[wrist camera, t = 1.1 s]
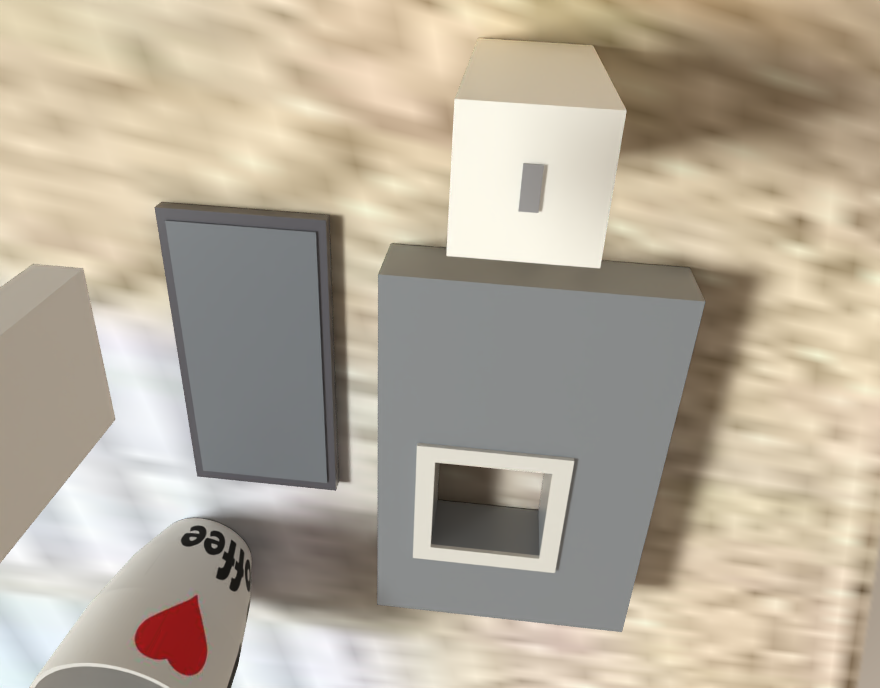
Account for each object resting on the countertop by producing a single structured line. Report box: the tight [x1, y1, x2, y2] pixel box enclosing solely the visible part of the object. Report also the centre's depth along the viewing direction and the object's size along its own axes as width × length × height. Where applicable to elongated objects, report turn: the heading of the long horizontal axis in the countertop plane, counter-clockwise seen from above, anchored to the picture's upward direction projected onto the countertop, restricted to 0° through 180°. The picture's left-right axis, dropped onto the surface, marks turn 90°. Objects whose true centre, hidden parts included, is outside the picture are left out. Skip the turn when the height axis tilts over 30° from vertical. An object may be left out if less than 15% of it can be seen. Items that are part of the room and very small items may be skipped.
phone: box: [155, 202, 339, 490], centre depth 34 cm, size 14×7×1 cm, turn 178°
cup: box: [29, 518, 252, 688], centre depth 36 cm, size 8×8×10 cm
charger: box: [446, 38, 627, 268], centre depth 23 cm, size 4×4×10 cm
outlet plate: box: [377, 244, 705, 632], centre depth 33 cm, size 18×12×3 cm, turn 177°
